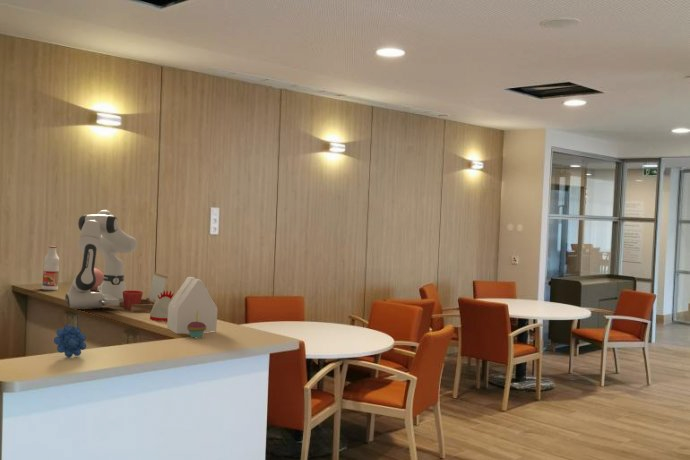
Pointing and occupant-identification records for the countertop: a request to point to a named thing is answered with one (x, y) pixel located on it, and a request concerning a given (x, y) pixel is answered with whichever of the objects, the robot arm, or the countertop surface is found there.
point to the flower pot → (131, 298)
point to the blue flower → (70, 341)
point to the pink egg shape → (97, 279)
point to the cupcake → (196, 328)
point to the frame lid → (157, 286)
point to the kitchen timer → (161, 307)
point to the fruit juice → (51, 270)
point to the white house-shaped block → (192, 307)
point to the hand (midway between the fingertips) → (123, 300)
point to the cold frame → (141, 306)
